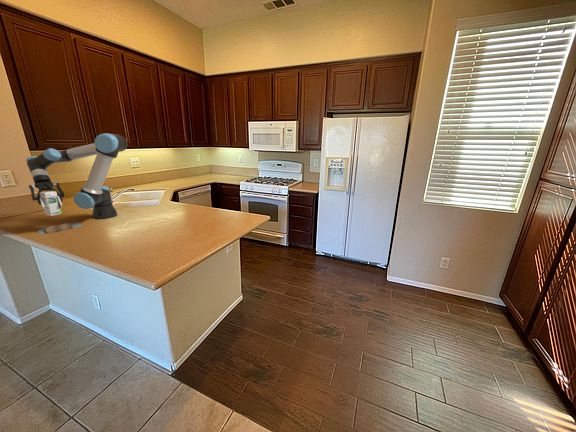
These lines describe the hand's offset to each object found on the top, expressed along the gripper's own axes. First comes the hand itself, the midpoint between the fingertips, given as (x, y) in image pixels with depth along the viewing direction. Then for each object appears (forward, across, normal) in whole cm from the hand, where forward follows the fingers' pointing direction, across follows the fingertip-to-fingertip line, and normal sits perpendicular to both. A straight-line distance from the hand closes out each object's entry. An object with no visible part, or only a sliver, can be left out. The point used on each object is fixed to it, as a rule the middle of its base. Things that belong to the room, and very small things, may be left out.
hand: (52, 206), depth 146 cm
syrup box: (+1, 0, -7) cm, 7 cm away
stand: (+8, 0, -13) cm, 16 cm away
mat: (+8, -1, -14) cm, 16 cm away
